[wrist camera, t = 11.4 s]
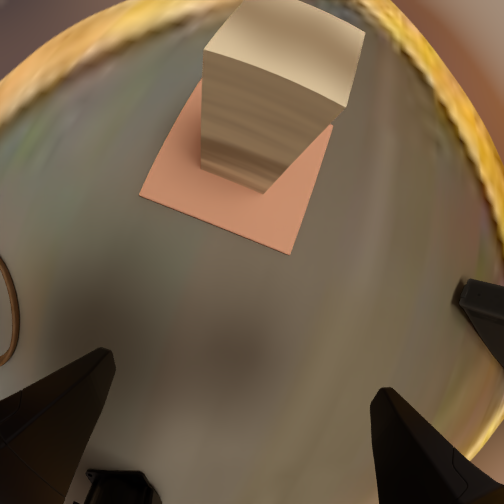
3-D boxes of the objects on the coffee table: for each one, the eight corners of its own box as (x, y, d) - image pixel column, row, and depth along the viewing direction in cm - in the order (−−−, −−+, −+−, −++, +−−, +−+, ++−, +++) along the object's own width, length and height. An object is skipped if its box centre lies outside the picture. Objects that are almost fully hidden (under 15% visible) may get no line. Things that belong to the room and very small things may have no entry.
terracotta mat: (288, 255, 21) (289, 254, 21) (140, 196, 20) (138, 194, 19) (331, 127, 22) (333, 125, 22) (205, 75, 21) (205, 72, 20)
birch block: (263, 194, 21) (345, 107, 8) (200, 169, 20) (203, 49, 7) (284, 139, 21) (365, 32, 8) (226, 116, 20) (256, -14, 8)
